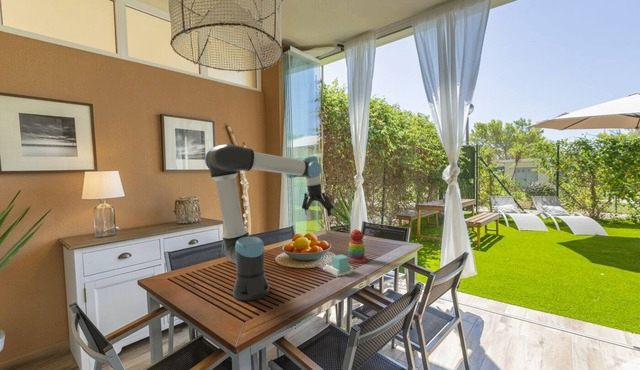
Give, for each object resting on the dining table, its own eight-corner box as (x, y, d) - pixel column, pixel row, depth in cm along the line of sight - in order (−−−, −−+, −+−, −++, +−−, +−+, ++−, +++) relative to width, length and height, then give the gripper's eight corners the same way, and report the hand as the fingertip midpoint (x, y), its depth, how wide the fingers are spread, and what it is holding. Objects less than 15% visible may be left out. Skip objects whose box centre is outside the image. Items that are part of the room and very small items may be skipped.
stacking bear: (366, 264, 157) (365, 232, 156) (347, 263, 159) (347, 231, 158) (366, 257, 168) (365, 228, 167) (349, 257, 170) (348, 227, 169)
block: (339, 273, 141) (339, 259, 141) (332, 269, 146) (332, 256, 146) (348, 270, 145) (348, 257, 144) (341, 267, 150) (341, 254, 149)
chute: (337, 276, 140) (337, 270, 139) (315, 265, 156) (315, 260, 156) (353, 272, 145) (353, 266, 145) (330, 262, 162) (330, 256, 162)
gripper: (336, 182, 153) (341, 220, 156) (300, 183, 168) (305, 218, 171) (328, 184, 147) (334, 224, 150) (292, 186, 162) (297, 222, 165)
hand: (318, 221), depth 161 cm, fingers open, 13 cm apart
